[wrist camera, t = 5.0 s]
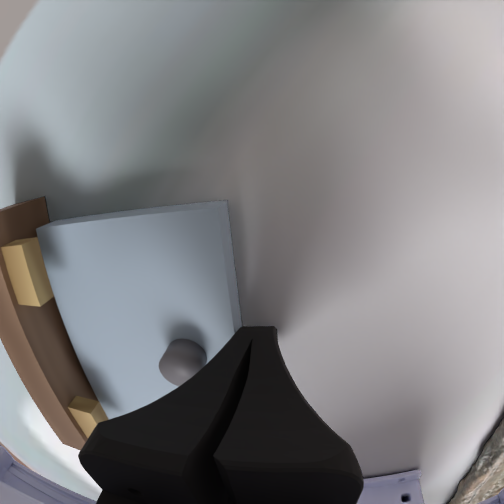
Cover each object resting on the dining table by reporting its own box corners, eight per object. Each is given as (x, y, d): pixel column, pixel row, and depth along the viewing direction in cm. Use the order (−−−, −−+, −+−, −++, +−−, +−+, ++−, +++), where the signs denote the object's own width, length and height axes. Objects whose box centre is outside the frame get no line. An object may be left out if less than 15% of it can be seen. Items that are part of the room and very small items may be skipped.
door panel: (229, 198, 11) (209, 215, 8) (256, 416, 14) (249, 457, 12) (61, 217, 12) (20, 235, 9) (122, 400, 16) (102, 433, 13)
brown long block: (66, 191, 11) (8, 211, 8) (140, 418, 15) (117, 462, 12) (14, 204, 12) (-38, 223, 8) (88, 406, 16) (62, 443, 13)
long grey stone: (591, 282, 10) (498, 317, 13) (633, 313, 5) (543, 370, 8) (482, 513, 19) (417, 534, 21) (488, 541, 14) (419, 564, 16)
